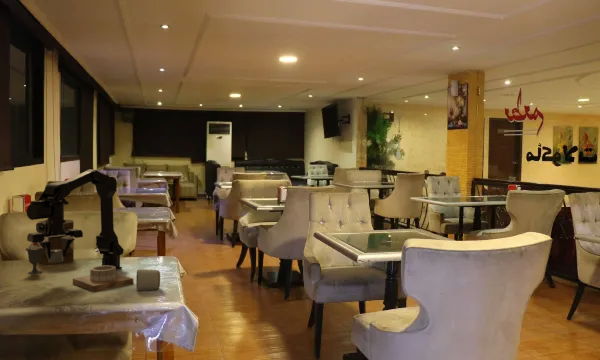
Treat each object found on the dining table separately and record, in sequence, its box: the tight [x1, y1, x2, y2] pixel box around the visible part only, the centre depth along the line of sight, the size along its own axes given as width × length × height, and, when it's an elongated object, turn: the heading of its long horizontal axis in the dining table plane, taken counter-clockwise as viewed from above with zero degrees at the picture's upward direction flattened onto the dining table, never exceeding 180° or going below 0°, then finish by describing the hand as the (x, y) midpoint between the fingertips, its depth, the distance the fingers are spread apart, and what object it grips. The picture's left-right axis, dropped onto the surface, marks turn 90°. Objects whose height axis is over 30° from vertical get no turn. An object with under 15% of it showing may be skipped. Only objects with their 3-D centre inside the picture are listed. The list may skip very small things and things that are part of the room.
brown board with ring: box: [72, 265, 134, 293], centre depth 199 cm, size 16×16×6 cm
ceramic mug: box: [135, 269, 161, 292], centre depth 193 cm, size 11×8×8 cm
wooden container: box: [37, 218, 75, 265], centre depth 236 cm, size 15×15×22 cm
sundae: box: [25, 242, 44, 275], centre depth 213 cm, size 7×7×15 cm
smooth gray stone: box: [49, 250, 63, 263], centre depth 198 cm, size 5×5×4 cm
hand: (55, 257), depth 198 cm, fingers closed on smooth gray stone, 5 cm apart
